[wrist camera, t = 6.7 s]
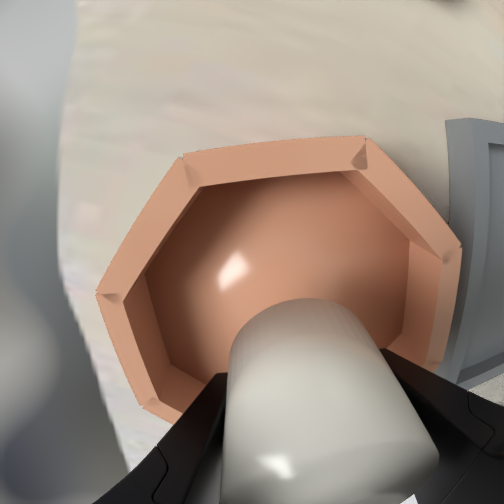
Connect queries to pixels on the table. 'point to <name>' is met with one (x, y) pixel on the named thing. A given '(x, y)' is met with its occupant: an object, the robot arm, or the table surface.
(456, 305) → the parts tray
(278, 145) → the bowl
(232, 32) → the table surface
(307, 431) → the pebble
